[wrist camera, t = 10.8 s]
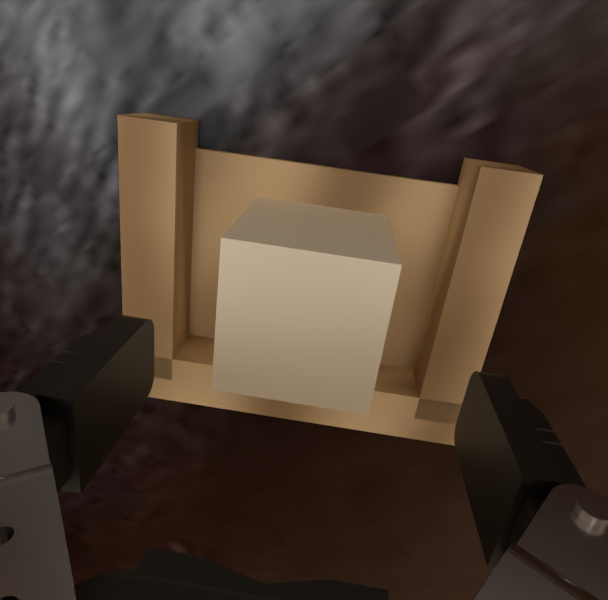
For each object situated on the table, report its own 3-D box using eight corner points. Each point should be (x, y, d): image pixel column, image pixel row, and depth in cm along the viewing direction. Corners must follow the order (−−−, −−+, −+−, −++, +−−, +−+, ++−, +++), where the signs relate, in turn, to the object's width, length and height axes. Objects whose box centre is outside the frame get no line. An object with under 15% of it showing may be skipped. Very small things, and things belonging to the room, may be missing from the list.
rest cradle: (518, 165, 18) (543, 175, 15) (445, 409, 22) (457, 446, 20) (146, 112, 18) (117, 114, 16) (147, 362, 22) (124, 393, 20)
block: (386, 215, 19) (402, 264, 13) (363, 329, 21) (368, 414, 15) (258, 196, 19) (220, 237, 13) (248, 311, 21) (211, 390, 15)
